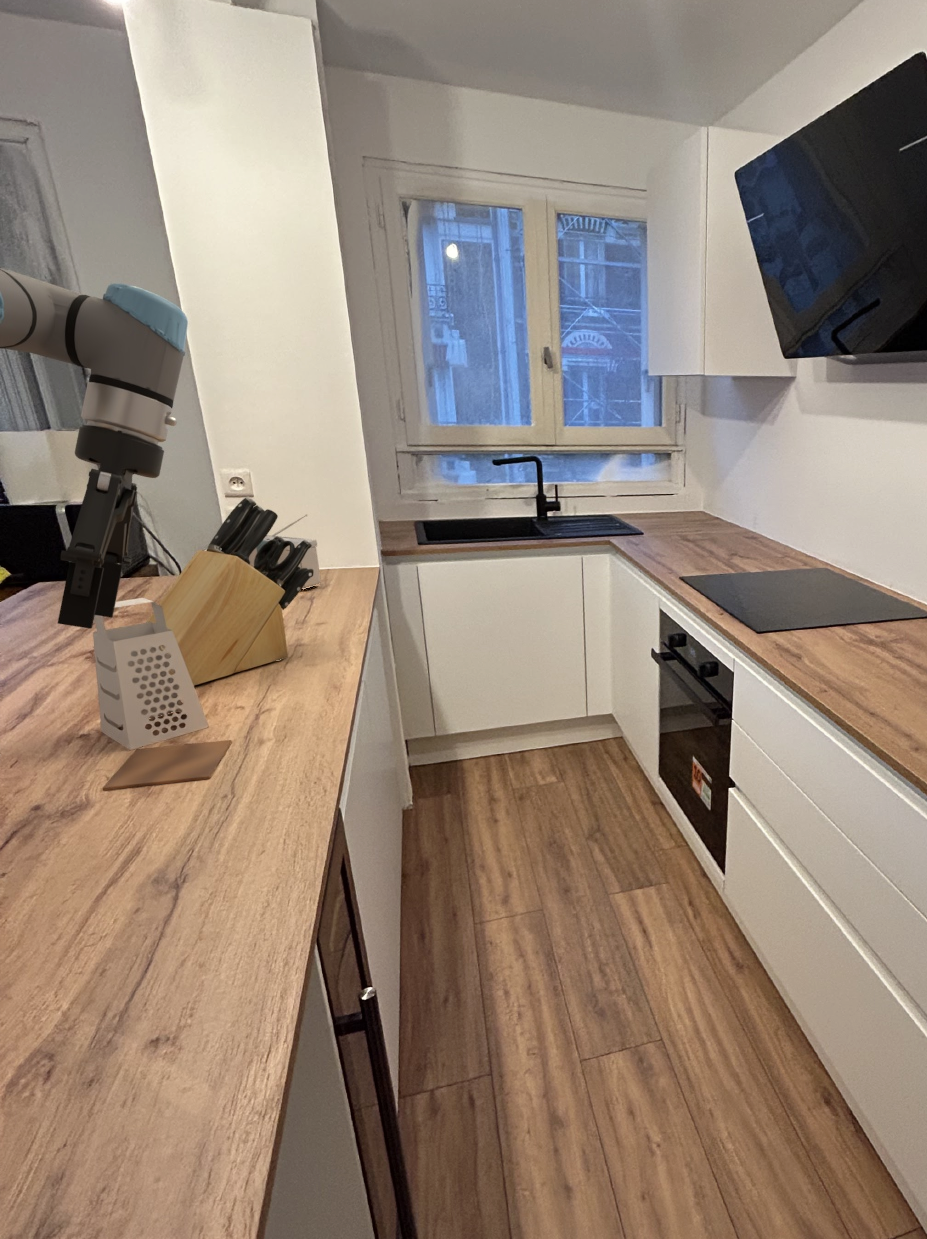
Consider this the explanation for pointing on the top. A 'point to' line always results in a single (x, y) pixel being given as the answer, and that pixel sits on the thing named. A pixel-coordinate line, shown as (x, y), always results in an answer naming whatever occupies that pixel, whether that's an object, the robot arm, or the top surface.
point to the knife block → (235, 597)
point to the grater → (143, 681)
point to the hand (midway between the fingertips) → (87, 620)
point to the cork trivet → (169, 764)
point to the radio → (307, 562)
